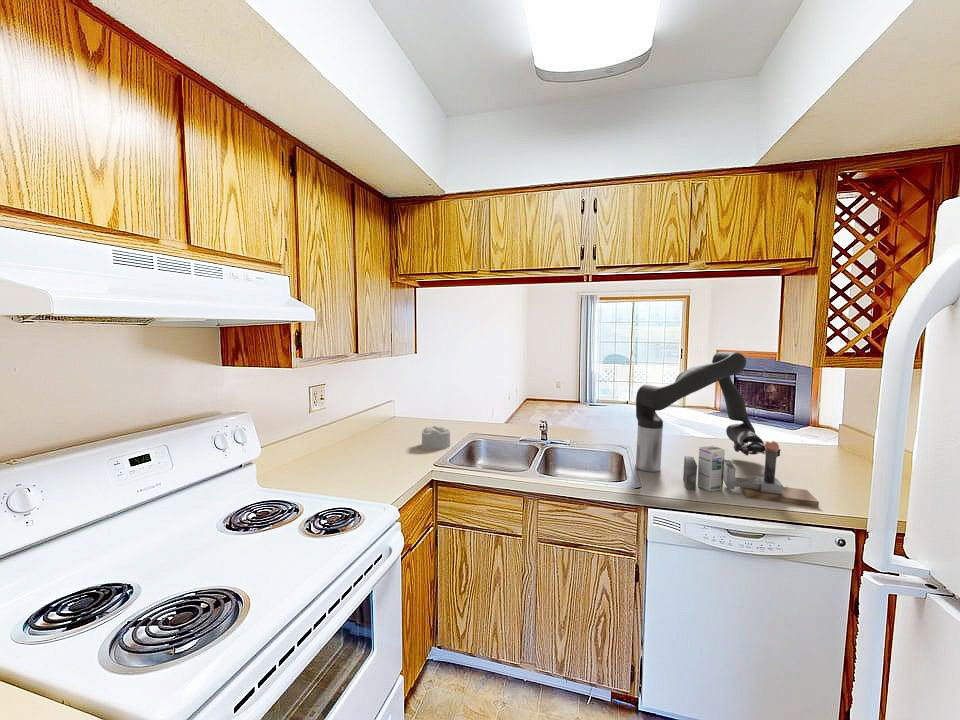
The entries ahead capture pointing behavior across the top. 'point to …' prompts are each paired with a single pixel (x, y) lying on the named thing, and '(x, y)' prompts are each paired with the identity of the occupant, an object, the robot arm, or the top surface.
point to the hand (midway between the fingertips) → (761, 454)
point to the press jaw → (761, 483)
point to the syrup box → (711, 468)
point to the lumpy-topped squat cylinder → (435, 438)
